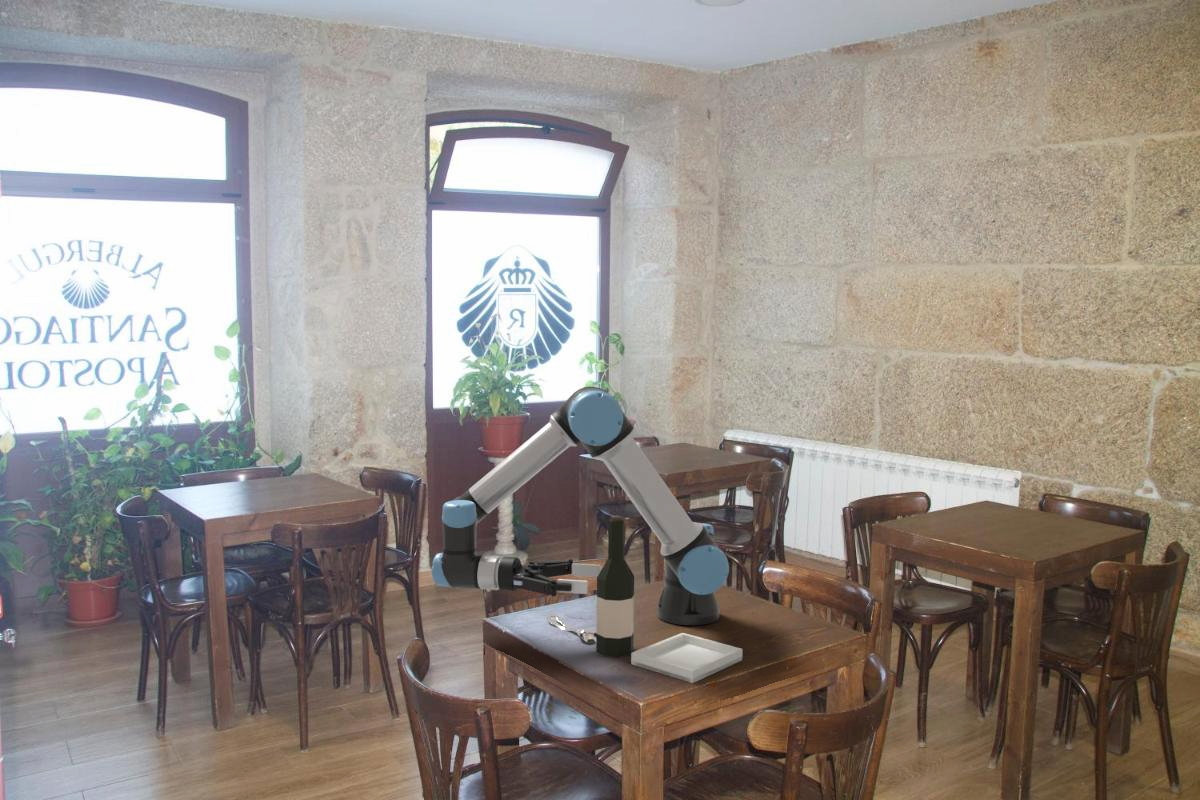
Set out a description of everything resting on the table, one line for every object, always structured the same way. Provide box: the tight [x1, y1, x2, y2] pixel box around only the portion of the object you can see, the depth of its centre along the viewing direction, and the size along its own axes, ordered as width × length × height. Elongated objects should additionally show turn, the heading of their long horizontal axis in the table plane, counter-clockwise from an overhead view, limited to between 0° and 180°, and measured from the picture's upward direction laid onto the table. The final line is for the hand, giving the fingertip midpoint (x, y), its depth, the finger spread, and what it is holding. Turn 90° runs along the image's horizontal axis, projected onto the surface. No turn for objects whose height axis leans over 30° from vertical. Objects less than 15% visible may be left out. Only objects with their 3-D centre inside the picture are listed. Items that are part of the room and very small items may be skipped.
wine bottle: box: [595, 514, 635, 658], centre depth 222 cm, size 8×8×30 cm
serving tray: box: [630, 632, 743, 684], centre depth 216 cm, size 18×16×2 cm
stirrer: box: [546, 613, 597, 645], centre depth 236 cm, size 20×4×5 cm
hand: (594, 579), depth 222 cm, fingers open, 13 cm apart
